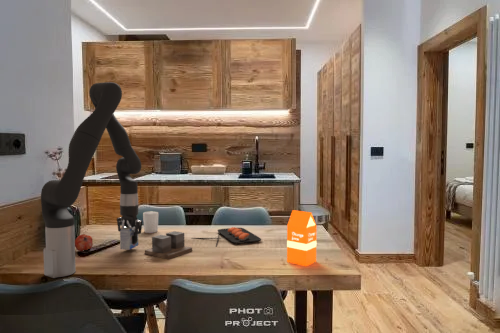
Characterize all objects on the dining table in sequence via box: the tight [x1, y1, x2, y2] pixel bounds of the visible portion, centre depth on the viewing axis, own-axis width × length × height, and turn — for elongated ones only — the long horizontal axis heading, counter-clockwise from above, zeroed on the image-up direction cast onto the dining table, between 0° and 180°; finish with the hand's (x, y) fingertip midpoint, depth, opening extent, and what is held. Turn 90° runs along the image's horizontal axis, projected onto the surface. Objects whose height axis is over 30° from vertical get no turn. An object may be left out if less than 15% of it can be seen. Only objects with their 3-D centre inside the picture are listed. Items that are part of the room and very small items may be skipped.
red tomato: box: [75, 233, 94, 252], centre depth 166 cm, size 7×7×10 cm
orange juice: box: [286, 209, 318, 267], centre depth 150 cm, size 8×9×20 cm
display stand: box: [144, 230, 193, 260], centre depth 163 cm, size 14×14×8 cm
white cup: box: [142, 210, 159, 234], centre depth 202 cm, size 8×8×10 cm
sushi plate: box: [192, 226, 262, 248], centre depth 187 cm, size 29×30×4 cm
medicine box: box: [119, 227, 139, 251], centre depth 166 cm, size 8×4×9 cm, turn 168°
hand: (129, 242), depth 166 cm, fingers closed on medicine box, 5 cm apart
